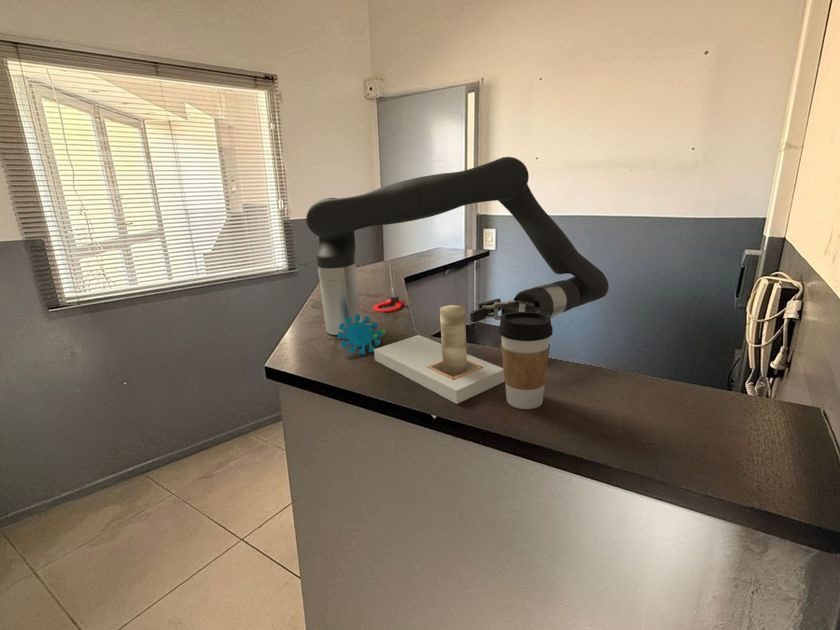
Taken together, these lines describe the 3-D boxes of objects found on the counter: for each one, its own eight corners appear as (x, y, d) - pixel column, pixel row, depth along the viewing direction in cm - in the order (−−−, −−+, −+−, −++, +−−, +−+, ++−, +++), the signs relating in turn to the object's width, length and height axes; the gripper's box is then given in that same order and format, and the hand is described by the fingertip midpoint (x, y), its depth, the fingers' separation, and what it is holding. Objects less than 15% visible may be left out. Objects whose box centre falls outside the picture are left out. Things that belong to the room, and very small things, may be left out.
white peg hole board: (374, 360, 94) (373, 348, 93) (419, 345, 100) (418, 334, 100) (456, 404, 74) (456, 389, 73) (504, 381, 81) (504, 368, 80)
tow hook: (390, 315, 125) (408, 305, 132) (384, 272, 120) (403, 263, 128) (367, 312, 129) (386, 302, 136) (361, 270, 125) (381, 262, 132)
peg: (438, 379, 83) (434, 309, 79) (456, 372, 86) (453, 303, 81) (454, 387, 80) (451, 314, 75) (472, 379, 82) (470, 308, 78)
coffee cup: (489, 396, 76) (488, 313, 71) (529, 384, 79) (531, 305, 74) (518, 418, 68) (519, 328, 64) (561, 405, 71) (565, 318, 67)
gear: (340, 353, 94) (336, 313, 99) (336, 364, 99) (333, 325, 104) (389, 351, 98) (383, 312, 102) (384, 362, 102) (378, 324, 107)
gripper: (514, 281, 98) (461, 297, 89) (569, 292, 87) (515, 310, 78) (514, 313, 100) (462, 331, 91) (568, 327, 89) (515, 349, 80)
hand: (486, 322), depth 84 cm, fingers open, 8 cm apart
